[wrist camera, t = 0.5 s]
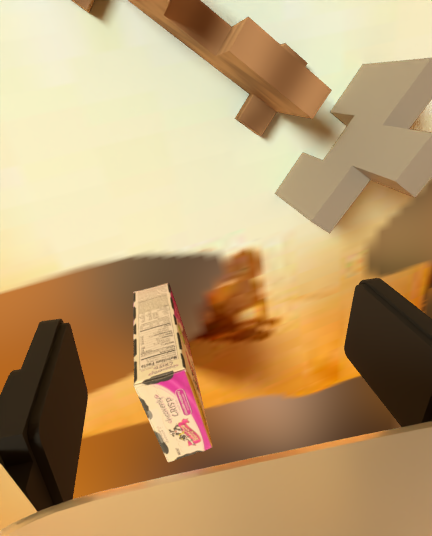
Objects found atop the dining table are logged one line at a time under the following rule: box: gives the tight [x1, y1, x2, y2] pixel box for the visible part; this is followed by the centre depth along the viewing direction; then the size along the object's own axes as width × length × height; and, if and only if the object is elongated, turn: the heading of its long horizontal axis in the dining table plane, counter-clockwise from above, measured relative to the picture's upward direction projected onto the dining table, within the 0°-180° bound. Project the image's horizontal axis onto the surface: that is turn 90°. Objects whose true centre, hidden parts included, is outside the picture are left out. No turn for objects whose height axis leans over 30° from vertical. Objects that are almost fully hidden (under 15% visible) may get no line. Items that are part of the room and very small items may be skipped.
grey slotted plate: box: [275, 58, 432, 233], centre depth 33 cm, size 16×2×16 cm, turn 147°
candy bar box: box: [133, 283, 212, 462], centre depth 40 cm, size 11×5×16 cm, turn 12°
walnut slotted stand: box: [72, 0, 331, 136], centre depth 29 cm, size 22×8×10 cm, turn 57°
